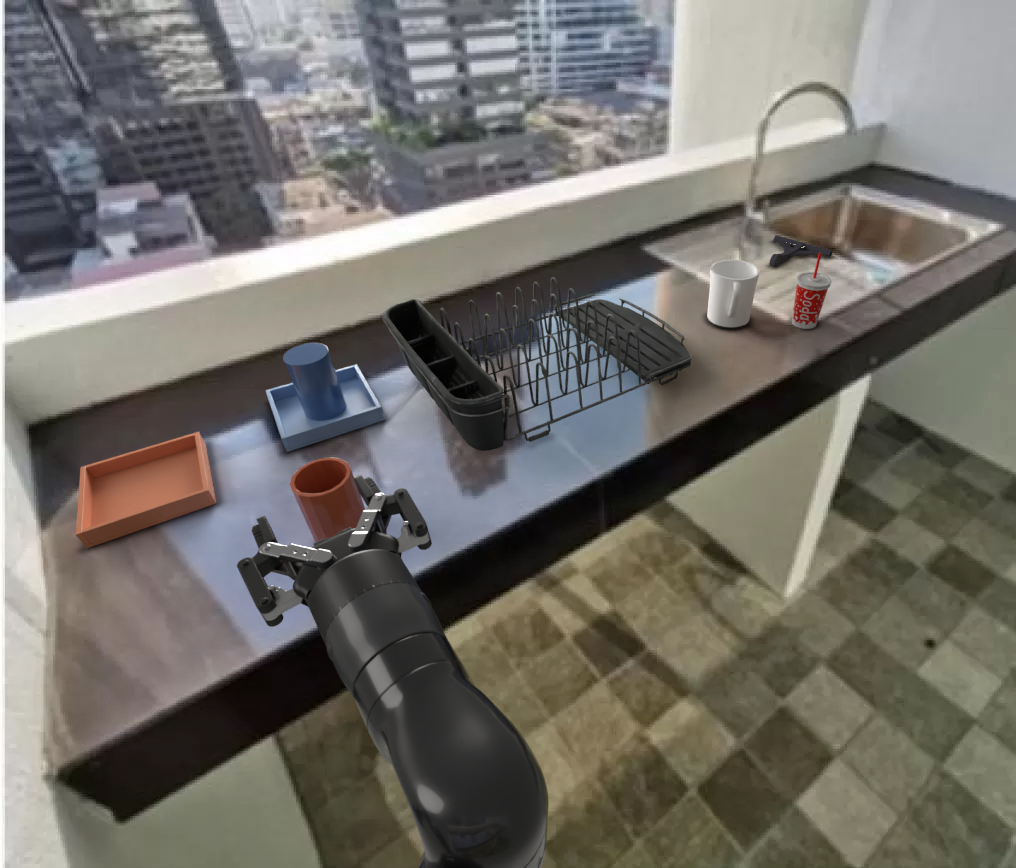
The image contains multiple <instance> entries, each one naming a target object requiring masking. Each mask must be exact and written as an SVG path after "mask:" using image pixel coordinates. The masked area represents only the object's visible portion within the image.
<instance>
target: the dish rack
mask: <svg viewBox="0 0 1016 868" xmlns="http://www.w3.org/2000/svg"><path fill="white" fill-rule="evenodd" d="M549 281H550V283H549V284H550V296H549V313H548V315H546V309H545V302H544V294H543V289H542V286H541V284H540V283H539V282H538V281H534V282H533V283H532V284H533V285H532V300H531V318H529V319H528V314H527V307H526V306H527V305H526V301H525V294H524V291H523V289H522V288H521V287H520V286H516V287H515V288H514V295H515V296H514V297H515V298H514V299H515V302H514V303H515V304H514V305H512V308H511V310H512V311H511V314H512V326H510V323H509V317H508V311H507V305H506V300H505V297H504V295H503V294H502V293H501V292H500V291H499V292H496V295H495V298H496V299H495V300H496V301H495V302H496V315H497V316H496V317H497V329H498V330H497V331H495V327H494V323H493V319H492V318H491V316H490V315H489V314H488V313H485V314H484V316H483V319H484V321H483V322H484V334H483V331H482V325H481V321H480V317H479V311H478V307H477V304H476V302H475V301H474V300H473V299H470V300H468V309H469V318H470V328H471V336H472V337H471V338H468V339H467V340H465V337H464V332H463V330H462V327H461V325H460V324H459V323H458V321H457V322H454V324H453V330H454V336H455V338H454V337H453V332H452V328H451V324H450V319H449V316H448V313H447V311H446V309H445V308H444V307H440V308H439V316H440V323H441V324H440V323H439V321H438V320H436V319H435V317H434V316H433V315H432V314H431V313H430V311H428V309H426V307H425V306H424V305H423V304H422V301H421V300H419V299H417V298H416V299H414V298H412V299H409V300H405V301H402V302H399V303H395V304H394V305H392V306H390V307H389V308H387V309H386V310H385V311H384V312H383V314H382V321H383V323H384V324H385V326H386V327H387V328H388V330H389V332H390V334H391V335H392V336H393V338H394V339H395V340H396V344H397V346H398V349H399V351H400V353H401V356H402V358H403V360H404V362H405V365H406V366H407V367H408V369H409V370H410V372H411V373H412V375H413V376H414V377H415V378H416V379H417V381H418V382H419V383H420V385H421V387H423V389H424V390H425V391H426V393H427V394H428V396H430V398H431V399H432V400H433V401H434V402H435V405H436V406H437V407H438V408H439V409H440V411H441V412H442V413H443V415H444V416H445V418H447V420H448V422H450V424H451V425H452V426H453V427H454V428H455V430H456V432H457V433H458V434H459V435H460V437H461V438H462V439H463V440H464V442H465V443H466V444H467V445H468V447H469V446H470V447H471V448H472V449H474V450H477V451H484V452H486V451H493V450H497V449H500V448H502V447H504V442H509V441H511V440H514V439H517V438H519V437H521V436H524V439H525V441H526V442H529V443H531V442H533V441H537V440H539V439H542V438H544V437H546V436H549V435H550V432H551V431H552V428H551V425H552V424H555V423H558V422H560V421H562V420H565V419H567V418H570V417H572V416H575V415H577V414H579V413H582V412H585V411H586V410H589V409H591V408H594V407H596V406H598V405H601V404H603V403H606V402H608V401H610V400H613V399H615V398H618V397H621V396H623V395H625V394H627V393H629V392H632V391H634V390H636V389H639V388H642V387H644V386H646V385H650V384H651V383H653V382H656V381H658V385H659V386H665V385H668V384H669V383H671V382H673V381H676V380H677V379H678V377H679V372H682V371H683V370H686V369H687V368H690V367H692V361H693V356H691V354H690V352H689V350H688V349H687V348H686V346H685V345H684V340H685V336H684V335H683V334H682V333H680V332H679V331H678V330H676V329H675V328H674V327H672V326H671V325H670V324H668V323H667V322H665V321H664V320H663V319H661V318H659V317H658V316H657V315H655V314H653V313H651V312H649V311H648V310H646V309H644V308H642V307H641V306H638V305H637V304H634V303H632V302H630V301H628V300H626V299H623V298H621V297H619V298H618V300H620V302H621V303H620V305H619V304H617V303H614V302H612V301H610V300H606V299H600V298H598V299H594V300H587V301H586V302H584V303H581V304H579V301H582V300H585V299H588V298H592V297H594V296H595V295H596V294H595V293H590V294H587V295H584V296H579V297H578V293H577V292H576V290H575V289H574V288H572V287H570V288H569V289H568V292H567V300H566V301H562V298H561V297H562V296H561V290H560V283H559V280H558V279H557V278H556V277H555V276H552V277H551V278H550V280H549ZM554 282H555V284H556V286H557V295H556V294H555V293H554ZM536 285H537V288H538V289H539V293H540V303H539V301H538V300H537V299H536ZM518 291H519V293H520V294H521V300H522V309H523V315H524V321H525V322H523V318H522V313H521V309H520V308H519V305H518ZM571 292H572V293H573V295H574V298H573V299H571ZM499 297H500V299H501V301H502V306H503V310H504V316H505V318H504V319H505V323H506V327H505V328H502V327H501V315H500V301H499V300H500V299H499ZM554 299H555V302H556V304H555V305H554ZM574 302H575V305H574V306H571V303H574ZM624 304H627V305H629V306H631V307H632V308H634V309H636V310H638V311H640V312H641V313H642V314H640V313H638V312H637V311H635V310H632V309H631V308H629V307H626V306H624ZM472 305H473V307H472ZM565 305H566V306H567V307H566V308H563V306H565ZM536 307H537V310H538V318H537V316H536V315H537V314H536V311H537V310H536ZM472 308H474V311H475V316H476V322H477V326H478V327H477V328H478V331H479V336H478V337H477V336H476V337H475V326H474V317H473V309H472ZM554 312H555V313H554ZM645 314H646V315H647V316H649V317H650V318H652V319H654V320H656V321H657V322H658V323H660V324H661V326H660V325H659V324H657V323H656V322H654V321H653V320H651V319H649V317H646V316H645ZM542 315H543V316H542ZM444 318H445V320H444ZM487 319H488V320H489V323H490V330H491V332H490V333H488V320H487ZM547 319H548V320H547ZM553 319H554V320H555V325H556V326H555V327H556V332H553V329H552V328H553V327H552V325H553V323H552V322H553ZM547 321H548V323H547ZM445 322H446V328H447V329H446V328H445ZM537 322H539V326H540V330H539V327H538V324H537ZM543 322H544V323H543ZM543 324H544V325H543ZM524 326H526V332H527V338H528V341H526V339H525V333H524V331H525V330H524ZM570 326H571V327H570ZM519 328H520V333H521V340H522V343H521V342H520V343H518V344H516V329H519ZM665 328H666V329H668V330H670V331H671V332H673V333H674V334H675V335H676V336H678V337H679V338H681V339H680V340H679V339H677V338H676V337H675V336H674V335H673V334H671V333H670V332H669V331H667V330H666V329H665ZM544 329H545V333H546V335H545V333H544ZM511 330H512V334H511ZM458 331H459V334H458ZM539 331H540V332H539ZM552 332H553V333H552ZM564 332H566V334H565V335H566V336H565V341H564ZM571 332H573V334H574V337H575V344H573V345H570V343H571V341H570V339H571ZM535 333H536V338H535ZM497 334H498V335H499V350H498V345H497V340H496V335H497ZM503 335H504V337H505V339H506V345H507V347H506V348H504V344H503ZM540 335H541V336H540ZM555 335H557V339H556V338H555ZM582 335H583V337H582ZM459 336H460V340H461V341H459ZM489 337H492V340H493V348H494V351H493V352H490V349H489ZM545 338H546V340H545ZM484 339H485V341H484ZM551 340H552V341H553V343H554V347H555V351H553V352H551ZM476 341H480V342H481V346H482V351H483V353H484V355H480V354H479V349H478V346H477V344H476ZM536 341H537V347H538V356H537V357H534V358H532V343H533V342H536ZM541 342H542V344H541ZM590 342H593V343H590ZM466 344H468V347H467V346H466ZM526 344H528V352H527V345H526ZM584 344H585V350H584V359H583V353H582V345H584ZM595 344H596V345H595ZM542 347H543V352H542ZM574 347H576V354H577V355H576V354H575V353H574V352H573V351H571V350H570V349H571V348H574ZM592 347H593V349H594V350H595V353H596V357H594V358H593V359H591V350H592V349H591V348H592ZM473 348H474V352H475V356H476V357H475V358H474V354H473ZM515 348H516V362H517V364H514V361H513V354H512V349H515ZM600 348H601V349H602V352H601V349H600ZM520 350H521V351H522V353H523V355H524V360H525V361H523V362H521V358H520V357H521V356H520V355H521V354H520ZM505 351H507V352H508V357H509V364H510V366H508V367H505V365H504V364H505V363H504V352H505ZM564 351H566V355H565V363H564V359H563V358H564V357H563V352H564ZM499 353H500V354H499ZM543 353H544V354H543ZM492 355H495V359H496V364H497V368H498V370H496V367H495V363H494V361H493V359H492V357H491V356H492ZM499 355H500V356H499ZM551 355H555V358H556V366H557V367H556V368H557V371H556V372H553V373H551V374H550V373H549V372H550V368H549V365H550V356H551ZM570 356H572V358H573V360H574V365H572V366H570ZM610 356H611V357H612V358H614V359H615V360H616V367H617V370H618V371H617V372H618V373H614V374H613V375H610V376H607V375H608V367H609V361H610V360H609V358H610ZM499 357H500V358H499ZM545 357H546V363H545V365H544V359H543V358H545ZM483 358H484V368H485V369H484V368H483V367H482V361H481V359H483ZM602 358H605V365H604V373H603V375H602V369H601V368H602V367H601V359H602ZM537 360H539V361H537ZM534 361H537V362H536V364H535V379H534V380H532V378H531V370H530V364H529V363H531V362H534ZM594 361H596V362H597V377H598V380H597V381H593V382H592V383H589V382H588V381H589V370H590V363H592V362H594ZM489 363H490V368H491V370H492V372H489ZM564 364H565V365H564ZM522 365H525V367H526V375H527V380H528V381H527V382H526V383H524V384H521V366H522ZM583 365H586V367H585V376H584V383H583V375H582V366H583ZM504 367H505V368H504ZM516 367H517V370H516V371H517V378H516V372H515V368H516ZM561 368H562V369H561ZM574 368H575V372H576V374H575V375H576V382H577V388H576V389H574V390H570V391H568V390H569V370H572V369H574ZM510 369H511V374H512V378H511V377H510V375H509V374H507V373H505V374H503V375H502V382H503V387H502V386H501V385H500V384H499V382H498V377H497V374H498V373H501V372H504V371H507V370H510ZM539 369H540V370H539ZM539 371H541V374H542V377H539V376H540V373H539ZM630 371H631V372H632V373H633V374H634V375H636V376H637V379H638V384H637V385H635V386H632V387H630V388H627V389H625V390H623V376H622V374H624V373H627V372H630ZM564 372H565V378H564V379H565V380H564V389H563V381H562V373H564ZM673 374H675V375H674V376H673V377H670V378H668V379H666V380H664V381H662V380H663V379H664V378H666V377H668V376H672V375H673ZM555 375H558V383H559V390H560V392H561V394H560V395H558V396H555V397H552V398H551V393H550V385H549V377H553V376H555ZM492 376H493V377H492ZM613 377H617V378H618V387H619V392H618V393H615V394H612V395H610V396H607V397H605V398H604V397H603V396H604V394H603V393H604V392H603V382H604V381H606V380H609V379H612V378H613ZM543 380H544V384H545V389H546V391H545V392H546V399H547V400H544V401H542V402H540V400H539V399H540V398H539V397H540V396H539V395H540V394H539V392H540V389H539V388H540V384H539V383H540V381H543ZM507 381H508V383H509V389H508V385H507ZM642 381H643V382H642ZM533 383H535V398H534V392H533V385H532V384H533ZM588 383H589V384H588ZM596 384H598V388H599V399H600V400H598V401H595V402H592V403H591V404H588V405H586V406H584V405H583V394H582V390H583V389H586V388H588V387H591V386H593V385H596ZM526 386H528V388H529V395H530V401H531V403H532V405H531V406H529V407H526V408H523V409H521V410H519V408H518V402H517V395H516V390H517V389H520V388H524V387H526ZM509 392H511V395H509V394H508V393H509ZM576 392H578V394H577V395H578V402H579V407H580V408H578V409H576V410H574V411H570V412H568V413H566V414H563V415H561V416H559V417H556V418H554V415H553V406H552V401H555V400H559V399H560V398H563V397H566V396H568V395H571V394H573V393H576ZM510 396H511V397H510ZM511 398H512V402H513V407H514V412H513V413H511V414H510V408H511V404H510V401H511ZM503 401H504V402H503ZM503 403H504V405H503ZM545 404H547V405H548V411H549V412H548V413H549V420H547V421H546V422H544V423H542V424H541V423H540V424H537V425H535V426H533V427H531V428H527V429H525V430H522V426H521V419H520V414H522V413H524V412H527V411H529V410H532V409H534V408H537V407H541V406H543V405H545ZM514 416H515V418H516V425H517V428H518V429H517V430H518V432H517V433H516V434H513V435H511V436H508V426H509V418H513V417H514ZM545 427H547V429H548V430H543V431H541V432H540V433H537V434H533V435H531V436H528V435H527V434H529V433H532V432H534V431H537V430H540V429H542V428H545Z"/></svg>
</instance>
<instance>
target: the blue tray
mask: <svg viewBox="0 0 1016 868" xmlns="http://www.w3.org/2000/svg"><path fill="white" fill-rule="evenodd" d="M335 370H336V373H337V376H338V379H339V382H340V385H341V388H342V391H343V394H344V397H345V400H346V403H347V406H346V409H345V410H344V411H343V412H342V413H341V414H340V415H338V416H336V417H334V418H332V419H328V420H323V421H314V420H311V419H308V418H307V417H306V416H305V414H304V411H303V408H302V406H301V403H300V401H299V398H298V396H297V393H296V391H295V388H294V386H293V383H292V382H290V383H287V384H283V385H279V386H275V387H273V388H269V389H266V390H265V394H266V397H267V400H268V403H269V406H270V409H271V413H272V415H273V417H274V421H275V424H276V427H277V429H278V430H277V431H278V433H279V435H280V439H281V441H282V443H283V446H284V448H285V449H286V450H285V451H286V452H287V453H288V452H292V451H295V450H298V449H301V448H305V447H307V446H310V445H313V444H316V443H319V442H322V441H326V440H329V439H331V438H334V437H337V436H341V435H344V434H346V433H351V432H353V431H356V430H358V429H359V430H360V429H362V428H365V427H369V426H371V425H374V424H376V423H380V422H383V421H385V420H386V417H385V414H384V411H383V408H382V406H381V404H380V402H379V400H378V398H377V397H376V395H375V394H374V392H373V389H372V388H371V386H370V385H369V382H368V381H367V379H366V377H365V375H364V374H363V373H362V370H361V369H360V367H359V365H358V364H357V363H356V364H352V365H349V366H345V367H343V368H338V369H335Z"/></svg>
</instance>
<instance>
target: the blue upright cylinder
mask: <svg viewBox="0 0 1016 868" xmlns="http://www.w3.org/2000/svg"><path fill="white" fill-rule="evenodd" d="M282 360H283V363H284V365H285V368H286V371H287V373H288V376H289V378H290V381H291V383H293V386H294V388H295V391H296V393H297V396H298V398H299V401H300V403H301V406H302V408H303V411H304V414H305V416H306V417H307V418H308V419H311V420H314V421H323V420H328V419H332V418H334V417H336V416H338V415H340V414H341V413H342V412H343V411H344V410H345V409H346V406H347V403H346V400H345V397H344V394H343V391H342V388H341V385H340V382H339V379H338V376H337V373H336V370H337V369H336V368H335V365H334V362H333V359H332V356H331V352H330V351H329V348H328V346H327V345H325V344H323V343H319V342H309V343H308V342H307V343H302V344H298V345H296V346H294V347H292V348H290V349H288V350H287V351H286V352H284V355H283V357H282Z"/></svg>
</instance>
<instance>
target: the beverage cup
mask: <svg viewBox="0 0 1016 868" xmlns="http://www.w3.org/2000/svg"><path fill="white" fill-rule="evenodd" d="M821 254H822V252H819V255H817V260H816V263H815V268H814V271H813V272H812V271H805V272H801V273H799V274H797V276H796V280H795V282H796V287H795V288H796V289H795V296H794V302H793V309H792V310H793V311H792V316H791V324H792V325H793V327H796V328H799V329H804V330H810V329H814V328H816V327H817V323H818V321H819V317H820V315H821V312H822V309H823V305H824V302H825V300H826V296H827V293H828V290H829V289H830V287H831V284H832V282H833V281H832V278H831V277H830V276H828V275H826V274H824V273H821V272H818V271H819V266H820V262H821V258H822V256H821Z"/></svg>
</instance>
